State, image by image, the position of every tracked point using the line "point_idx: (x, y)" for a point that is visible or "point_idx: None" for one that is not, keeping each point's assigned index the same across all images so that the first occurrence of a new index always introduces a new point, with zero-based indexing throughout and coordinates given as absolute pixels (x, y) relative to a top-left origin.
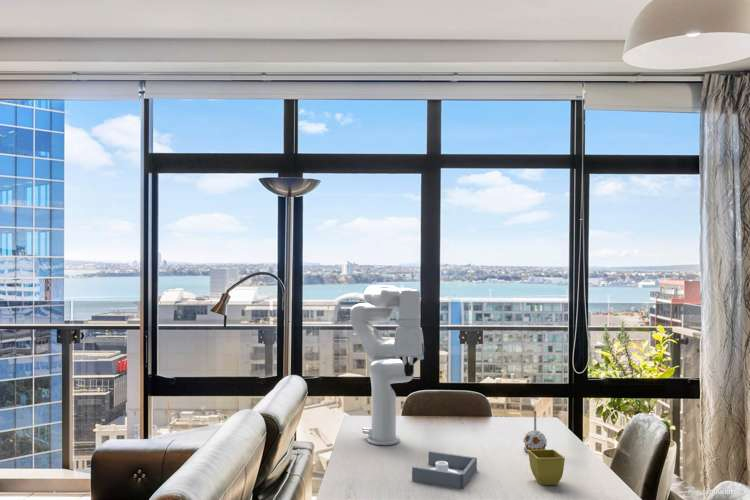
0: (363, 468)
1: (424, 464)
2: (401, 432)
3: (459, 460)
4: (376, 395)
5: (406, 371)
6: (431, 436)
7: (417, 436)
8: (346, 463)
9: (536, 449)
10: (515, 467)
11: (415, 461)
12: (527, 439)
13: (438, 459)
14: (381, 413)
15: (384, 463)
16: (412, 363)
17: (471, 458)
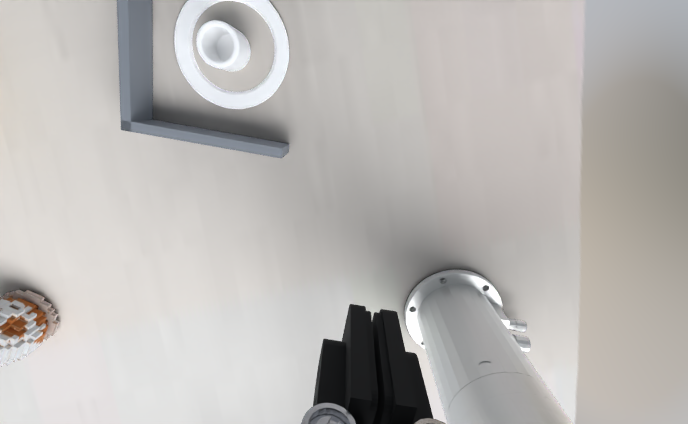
0: (481, 46)
1: (299, 136)
2: None
3: (182, 128)
4: (548, 402)
5: (389, 337)
6: None
7: None
8: (542, 80)
9: (9, 299)
10: (48, 177)
11: (330, 156)
12: (16, 325)
13: (253, 140)
14: (489, 340)
15: (420, 113)
16: (302, 421)
17: (137, 122)
